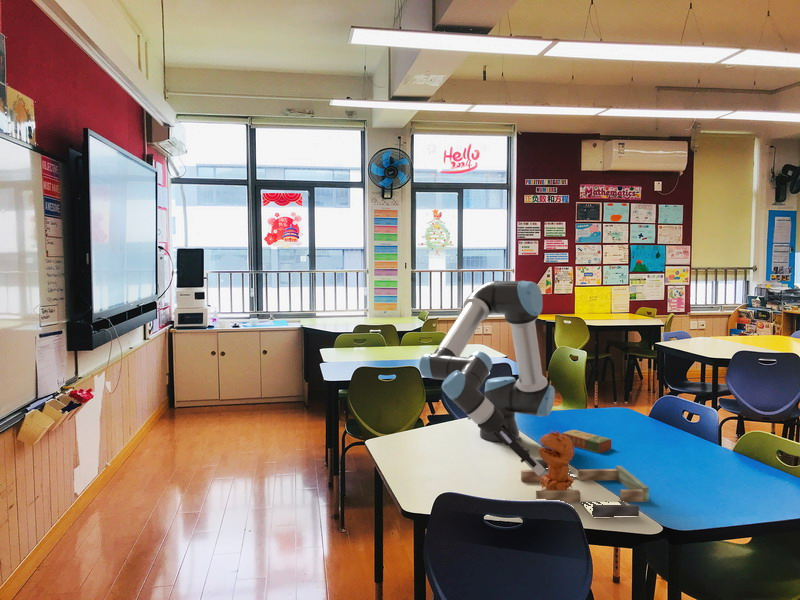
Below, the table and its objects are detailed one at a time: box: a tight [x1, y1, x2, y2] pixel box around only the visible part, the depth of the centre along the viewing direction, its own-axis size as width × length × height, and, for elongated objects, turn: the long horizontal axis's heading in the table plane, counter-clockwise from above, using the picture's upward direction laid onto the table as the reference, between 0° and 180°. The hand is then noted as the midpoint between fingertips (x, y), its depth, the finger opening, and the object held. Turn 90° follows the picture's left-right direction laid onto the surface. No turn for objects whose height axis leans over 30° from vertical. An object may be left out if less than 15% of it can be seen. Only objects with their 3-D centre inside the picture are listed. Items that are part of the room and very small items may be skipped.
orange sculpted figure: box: [537, 429, 575, 491], centre depth 165 cm, size 11×11×18 cm
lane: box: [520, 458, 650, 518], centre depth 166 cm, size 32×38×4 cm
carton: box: [561, 429, 612, 454], centre depth 209 cm, size 8×16×4 cm, turn 39°
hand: (541, 472), depth 164 cm, fingers closed
